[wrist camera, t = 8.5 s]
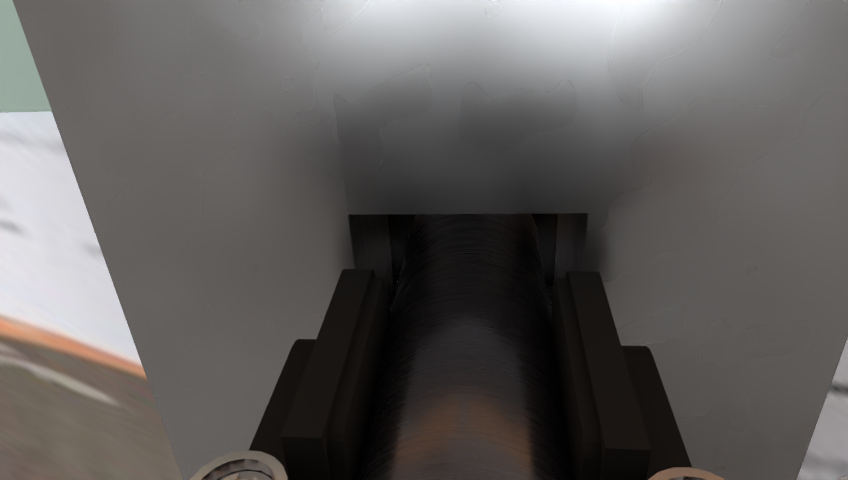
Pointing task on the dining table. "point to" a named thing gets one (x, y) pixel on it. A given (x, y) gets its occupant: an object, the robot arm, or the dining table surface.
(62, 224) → the dining table surface
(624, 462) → the robot arm
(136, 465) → the dining table surface
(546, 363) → the grey cylinder
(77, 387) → the dining table surface
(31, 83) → the mat
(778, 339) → the block
